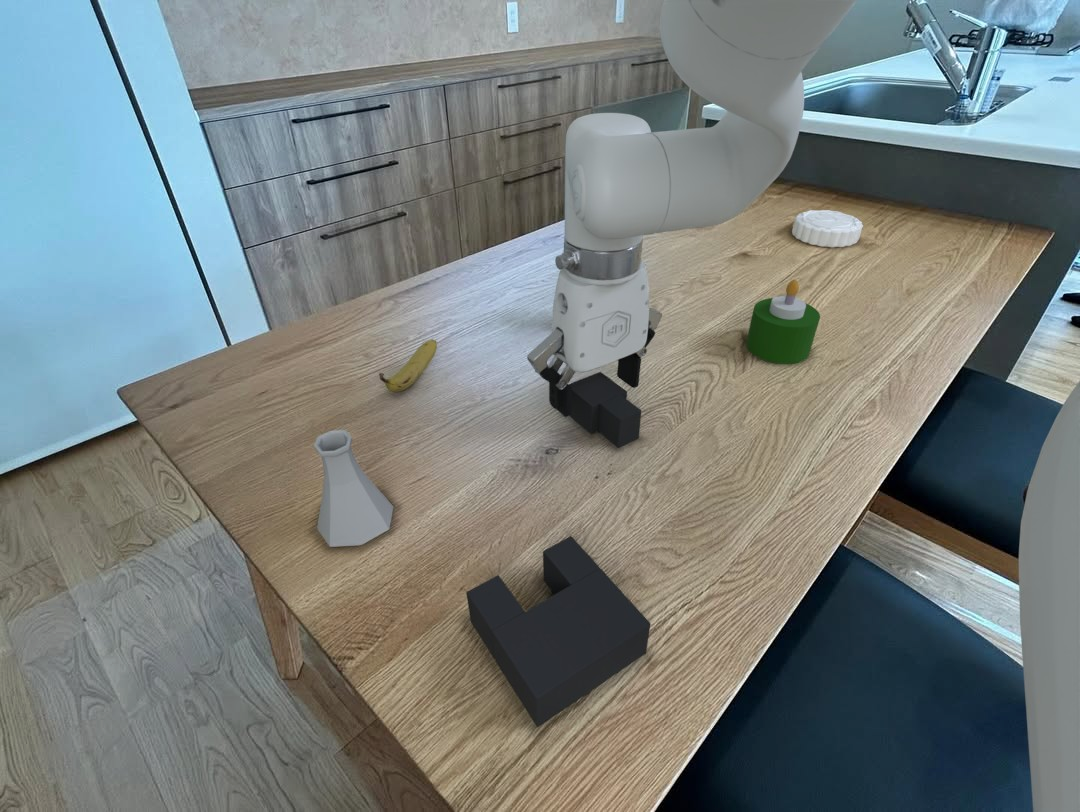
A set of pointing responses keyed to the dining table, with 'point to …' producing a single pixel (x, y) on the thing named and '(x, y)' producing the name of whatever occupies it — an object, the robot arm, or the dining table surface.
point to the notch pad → (559, 631)
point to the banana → (411, 368)
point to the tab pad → (605, 409)
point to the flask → (348, 495)
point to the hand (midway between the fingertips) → (595, 395)
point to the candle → (782, 328)
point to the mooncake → (827, 228)
